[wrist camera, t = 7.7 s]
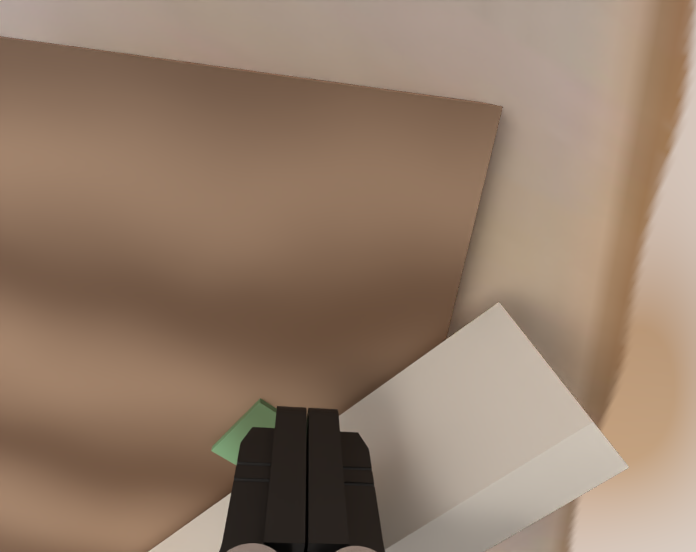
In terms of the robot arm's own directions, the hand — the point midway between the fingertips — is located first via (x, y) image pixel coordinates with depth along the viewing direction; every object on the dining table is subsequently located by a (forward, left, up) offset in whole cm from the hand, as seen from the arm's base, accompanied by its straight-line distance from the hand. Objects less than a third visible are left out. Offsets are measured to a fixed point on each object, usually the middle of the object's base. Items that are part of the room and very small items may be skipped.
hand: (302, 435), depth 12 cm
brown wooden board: (+4, -4, -5) cm, 7 cm away
